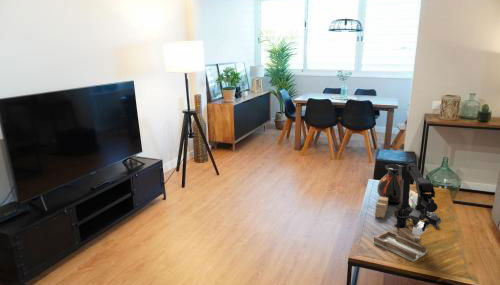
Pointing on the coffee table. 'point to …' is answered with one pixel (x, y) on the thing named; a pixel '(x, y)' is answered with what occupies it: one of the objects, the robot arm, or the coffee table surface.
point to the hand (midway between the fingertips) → (419, 229)
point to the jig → (400, 245)
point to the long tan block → (409, 235)
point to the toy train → (381, 207)
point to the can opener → (431, 216)
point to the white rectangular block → (418, 228)
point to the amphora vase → (391, 185)
